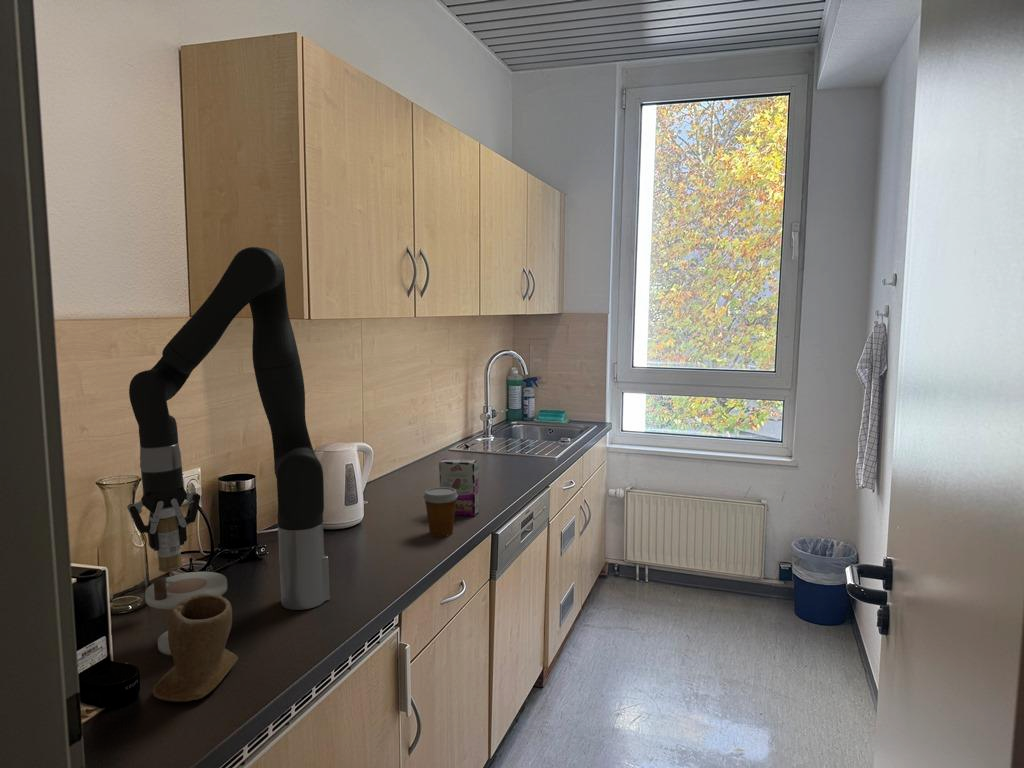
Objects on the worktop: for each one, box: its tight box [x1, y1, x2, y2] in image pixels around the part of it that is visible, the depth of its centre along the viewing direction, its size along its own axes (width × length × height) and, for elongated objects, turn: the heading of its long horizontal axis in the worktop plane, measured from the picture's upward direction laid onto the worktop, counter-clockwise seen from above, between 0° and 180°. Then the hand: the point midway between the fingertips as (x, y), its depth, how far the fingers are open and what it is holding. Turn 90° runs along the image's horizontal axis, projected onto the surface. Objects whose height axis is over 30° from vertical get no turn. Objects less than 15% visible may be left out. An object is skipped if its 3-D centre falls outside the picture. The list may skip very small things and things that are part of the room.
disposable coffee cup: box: [423, 486, 458, 537], centre depth 196 cm, size 10×10×12 cm
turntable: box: [144, 571, 228, 610], centre depth 133 cm, size 14×14×5 cm
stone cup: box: [152, 594, 239, 703], centre depth 119 cm, size 15×12×15 cm
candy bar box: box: [438, 458, 480, 517], centre depth 214 cm, size 11×5×16 cm, turn 76°
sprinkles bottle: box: [156, 507, 183, 573], centre depth 146 cm, size 5×5×13 cm
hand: (168, 546), depth 147 cm, fingers closed on sprinkles bottle, 4 cm apart
